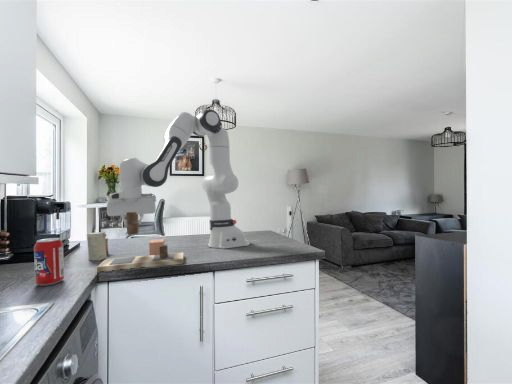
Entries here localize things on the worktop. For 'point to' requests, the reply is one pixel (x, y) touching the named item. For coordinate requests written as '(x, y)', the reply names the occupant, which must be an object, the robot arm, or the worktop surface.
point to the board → (145, 261)
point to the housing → (155, 246)
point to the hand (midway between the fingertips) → (132, 224)
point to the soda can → (48, 261)
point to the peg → (132, 223)
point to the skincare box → (96, 246)
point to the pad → (122, 260)
